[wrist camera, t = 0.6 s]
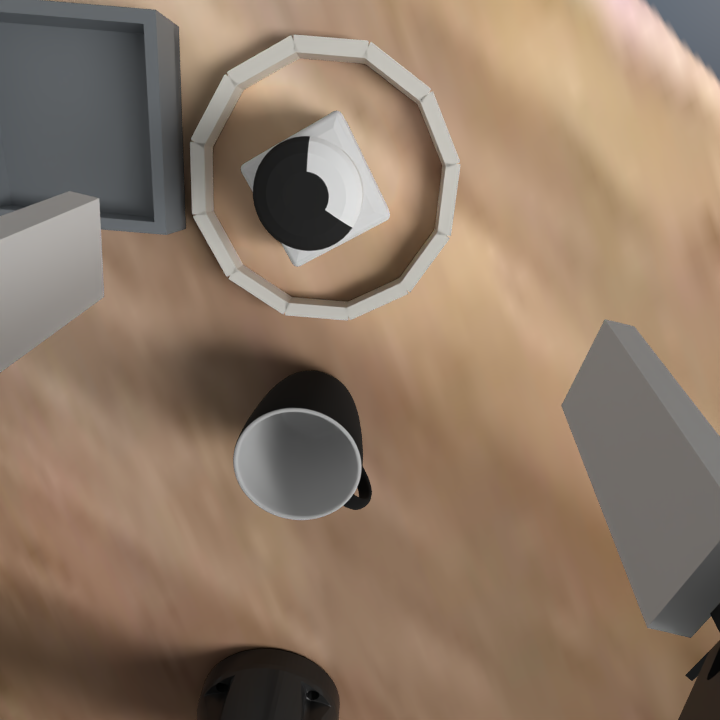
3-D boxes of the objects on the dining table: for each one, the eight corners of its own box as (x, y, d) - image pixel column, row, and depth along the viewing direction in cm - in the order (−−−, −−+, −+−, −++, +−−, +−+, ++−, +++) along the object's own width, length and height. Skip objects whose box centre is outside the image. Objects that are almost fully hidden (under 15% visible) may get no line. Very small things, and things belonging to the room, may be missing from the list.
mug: (241, 398, 45) (205, 458, 36) (318, 335, 43) (301, 381, 34) (331, 490, 48) (320, 568, 39) (407, 435, 46) (415, 504, 37)
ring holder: (435, 321, 42) (438, 328, 41) (203, 301, 42) (195, 307, 41) (470, 56, 36) (475, 49, 34) (196, 33, 36) (186, 25, 34)
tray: (185, 228, 41) (166, 234, 37) (11, 214, 41) (-26, 218, 37) (178, 26, 36) (155, 9, 32) (-19, 10, 36) (-65, -9, 32)
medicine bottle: (307, 253, 41) (281, 284, 30) (260, 167, 39) (214, 165, 28) (389, 210, 40) (394, 225, 28) (345, 118, 38) (332, 96, 26)
